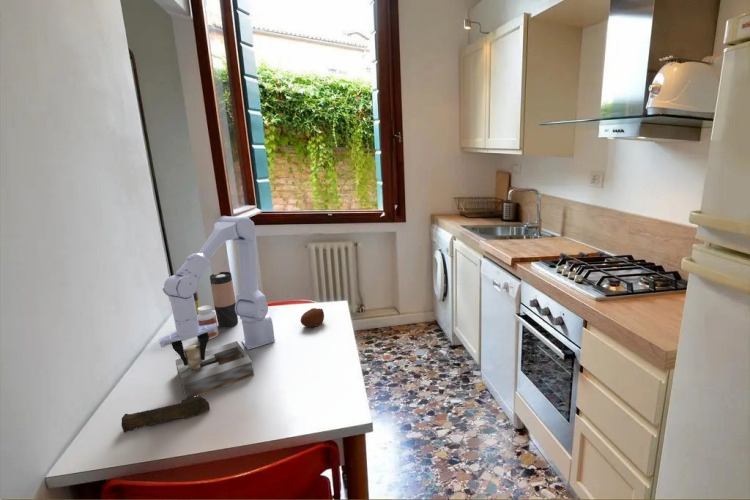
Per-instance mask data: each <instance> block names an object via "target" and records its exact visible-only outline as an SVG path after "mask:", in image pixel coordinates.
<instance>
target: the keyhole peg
mask: <svg viewBox="0 0 750 500" xmlns="http://www.w3.org/2000/svg"><path fill="white" fill-rule="evenodd" d="M184 354H185V358H186V361H187V366H189V367H191V370H195V369H198V368H201V367H200V363H201V362H202V357H201V352H200V347H199V344H192V345H189V346H187V347H185V348H184Z"/></svg>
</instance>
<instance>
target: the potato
mask: <svg viewBox="0 0 750 500" xmlns="http://www.w3.org/2000/svg"><path fill="white" fill-rule="evenodd" d="M324 313H325V312H324V310H323V308H316V307H315V308H314V307H313V308H311V309H308V310H306V311H305V312H304V313H303V314H302V316H301V317H300V323H301V325H302V326H304V327H306V328H310V327H317V326H319V325H321V324H322V323H323V322H324V320H325V314H324Z"/></svg>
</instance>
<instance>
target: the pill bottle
mask: <svg viewBox="0 0 750 500" xmlns="http://www.w3.org/2000/svg"><path fill="white" fill-rule="evenodd" d="M198 313H199V314H198V315H197V317H198V323H199V326H204V325H210V324H216V325H217V331H218V332H215V333H214V332H211V333H208V336H209V340H211V339H214V338H217V337H218V336H219V326H218V321H217V316H216V311H213V307H212V305H210V304H208V305H202V306H200V307H199V308H198Z"/></svg>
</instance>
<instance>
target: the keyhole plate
mask: <svg viewBox="0 0 750 500" xmlns="http://www.w3.org/2000/svg"><path fill="white" fill-rule="evenodd" d="M175 366H176V370H177V375H178V378H179V380H180V383H181V384H180V385H181V387H182V390H183V392H184V393H185V394H184V397H185V396H186V397H185V399H186V398H191V397H194V396H197V395H198V396H201V395H203V393H204V394H206V393H209V392H213V391H214V390H218V389H220V388H223V387H225V386H226V387H227V386H228V385H231V384H233V383H237V382H239V381H242V380H245V379H249V378H251V377H253V376H254V375H255V374H254V367H253V361H252V360H251V358H250V357H249V356H248V354H247V353H246V351H245V350H244V349H243V346H241V344H240V343H239V342H238V340H235V341H233V342H229V343H226V344H222V345H219V346H215V347H212V348H210V349H206V350H205V360H202V362H201V363H200V367H201V368H198V369H195V370H191V367H189V366H184V363H183V361H182V359H181V357H180V358H177V359H175ZM200 394H201V395H200Z"/></svg>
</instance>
